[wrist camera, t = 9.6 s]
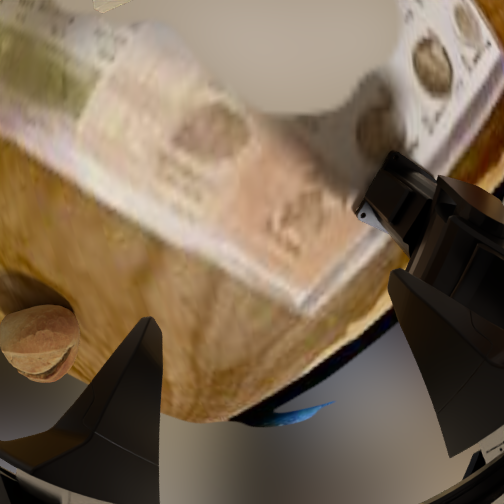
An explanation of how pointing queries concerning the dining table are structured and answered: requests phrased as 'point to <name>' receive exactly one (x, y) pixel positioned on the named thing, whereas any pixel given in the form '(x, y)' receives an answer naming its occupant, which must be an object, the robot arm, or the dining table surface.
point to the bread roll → (41, 341)
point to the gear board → (107, 4)
